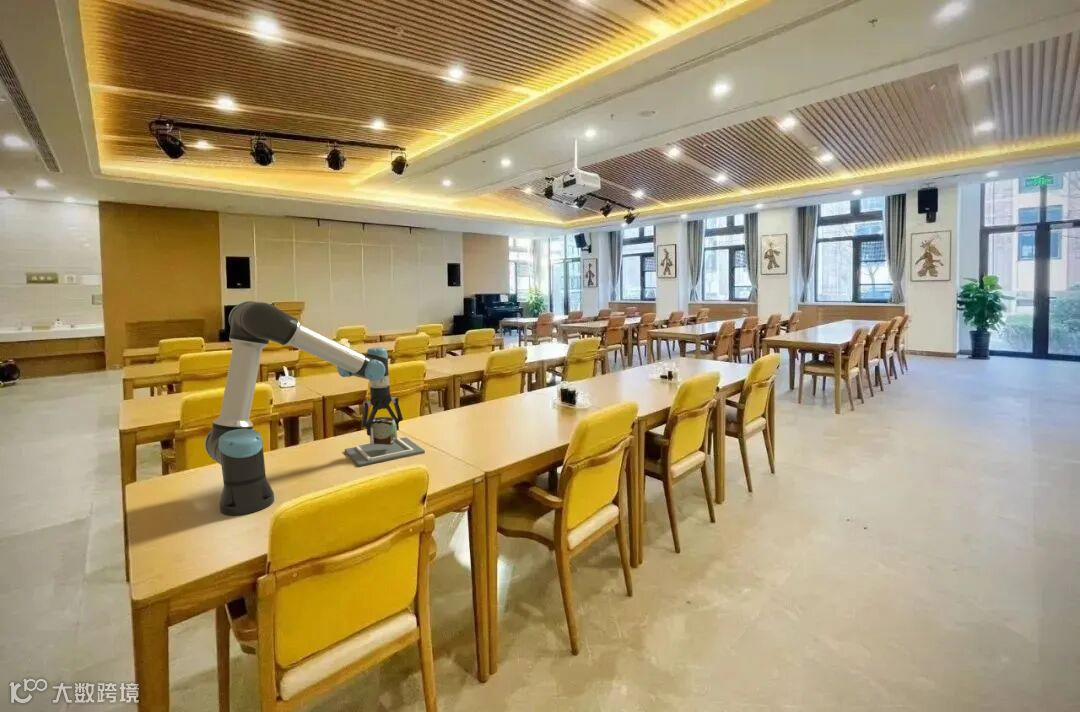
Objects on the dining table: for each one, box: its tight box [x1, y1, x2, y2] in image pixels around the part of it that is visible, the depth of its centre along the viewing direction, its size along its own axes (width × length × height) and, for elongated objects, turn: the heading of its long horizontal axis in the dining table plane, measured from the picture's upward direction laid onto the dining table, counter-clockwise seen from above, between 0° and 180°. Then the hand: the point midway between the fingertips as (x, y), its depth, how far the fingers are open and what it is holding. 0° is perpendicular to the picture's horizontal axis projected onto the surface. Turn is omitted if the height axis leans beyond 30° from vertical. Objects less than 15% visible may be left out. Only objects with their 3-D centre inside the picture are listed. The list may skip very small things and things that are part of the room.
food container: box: [366, 416, 395, 445], centre depth 213 cm, size 12×6×10 cm, turn 74°
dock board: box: [344, 436, 426, 468], centre depth 214 cm, size 26×22×2 cm
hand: (383, 440), depth 213 cm, fingers closed on food container, 9 cm apart
